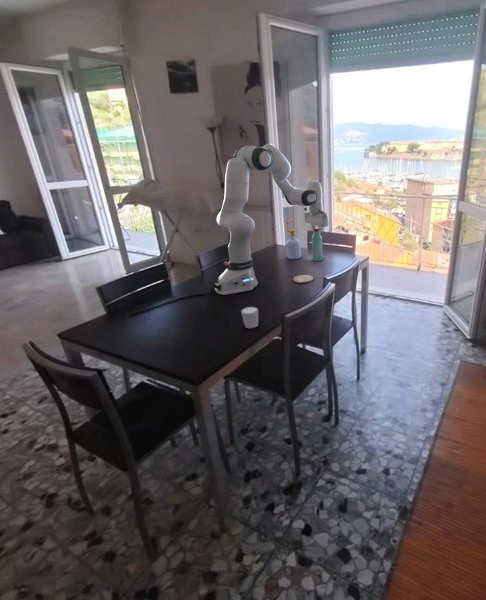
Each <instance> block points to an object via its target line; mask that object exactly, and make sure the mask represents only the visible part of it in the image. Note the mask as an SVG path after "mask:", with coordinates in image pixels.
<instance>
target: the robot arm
mask: <svg viewBox="0 0 486 600" xmlns="http://www.w3.org/2000/svg"><path fill="white" fill-rule="evenodd" d="M225 169H226V170H225V178H224V195H223V196H224V198H223V202H222V206H221V208H220V209H221V210H220V212H218V214H217V216H216V223H217V225H218V227H219V228H220V229H222V230H223V231H224V232H227V233H229V236H230V239H229V243H228V245H227V251H228V257H229V261H223V265H224V266H225V267H226V269H225V270H224V271H223V272H222V273H221V274H220V275H219V276H218V278H217V282H215V283H214V286H212V288H210V291H209V292H207V293H194V294H190V295H185V296H180V297H177V298H175V299H172V300H168V301H166V302H162V303H160V304H158V305H157V304H156V305H155V306H152V307H149V308H145V309H140V310H137V311H132V312H131V313H130V314H131V315H137V314H140V313H144V312H147V311H150V310H154V309H156V308H159V307H162V306H165V305H168V304H170V303H173V302H176V301H180V300H183V299H187V298H191V297H196V296H206V295H211V294H213V290H214V291H215V292H216V294H218V295H221V296H226V295H232V294H238V293H243V292H249V291H252V290H254V288H255V287H257V286H258V285H259V281H258V280H257V277H256V274H255V270H254V268H255V267H254V259H253V258H252V252H251V237H252V234H253V233H254V231H255V228H256V225H255V224H256V223H255V220H254V219H253V218H252V217H250V216H249V215H248V214H246V213H243V211H244V208H245V205H246V204H247V203H248V200H249V189H250V188H249V187H250V173H251V172H252V171H266V170H268V171H269V173H270V174H271V175H272V178H273V180H274V182H275V183H276V185H277V187H278V188H279V189H280V190H281V192H282V194H283V196H284V198H285V201H286V202H287V204H288V205H291V206H300V207H303V217H304V222H305V223H306V224H310V227H311V230H312V232H314V231H313V228H315V227H319V229H318V230H317V231H318V233H320V234H321V233H322V229H323V228H327V227H328V226H329V219H328V214H327V212H326V211H325V210H324V204H323V187H322V184H321V182H320V181H313V180H310V181H307V183H306V185H305V186H303V187H302V188H300V187H295V186H293V185H292V184H291V183H290V181H289V180H288V179H287V178H288V177H289V176H290V175H291V172H292V166H291V163H290V162H289V159H287V158H286V156H285V155H284V154H283V153H282V152H281V151H280V150H279V148H278V147H276V146H275V145H274V144H272V143H266V144H264V145H263V146H256V145H241V146H238V147H237V149H236V150H235V151H234V154H233V157H232V158H230V159H228V162H227V165H226V168H225Z"/></svg>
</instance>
